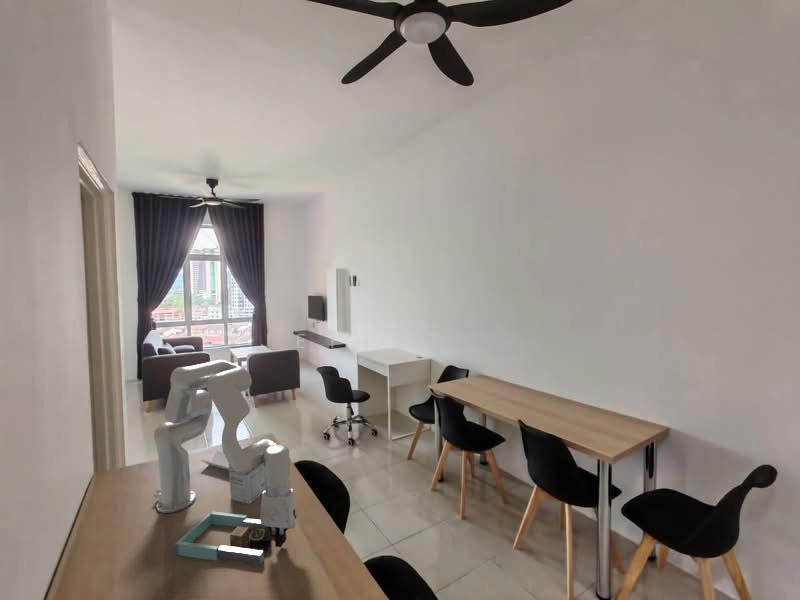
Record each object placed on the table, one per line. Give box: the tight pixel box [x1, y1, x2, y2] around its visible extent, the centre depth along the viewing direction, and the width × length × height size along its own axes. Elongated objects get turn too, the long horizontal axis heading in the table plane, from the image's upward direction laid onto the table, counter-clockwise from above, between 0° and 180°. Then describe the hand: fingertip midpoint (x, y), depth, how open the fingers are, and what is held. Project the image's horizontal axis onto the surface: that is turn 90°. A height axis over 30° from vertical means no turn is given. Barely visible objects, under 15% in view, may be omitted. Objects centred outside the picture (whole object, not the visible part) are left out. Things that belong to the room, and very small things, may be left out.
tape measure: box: [247, 527, 271, 551], centre depth 117 cm, size 7×7×4 cm
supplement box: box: [228, 446, 265, 505], centre depth 144 cm, size 10×9×17 cm
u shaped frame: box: [174, 510, 248, 561], centre depth 120 cm, size 14×16×4 cm
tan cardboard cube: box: [229, 526, 250, 548], centre depth 118 cm, size 4×4×4 cm
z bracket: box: [200, 450, 229, 471], centre depth 165 cm, size 12×25×6 cm
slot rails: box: [217, 517, 274, 566], centre depth 118 cm, size 14×15×3 cm
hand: (280, 543), depth 116 cm, fingers closed
